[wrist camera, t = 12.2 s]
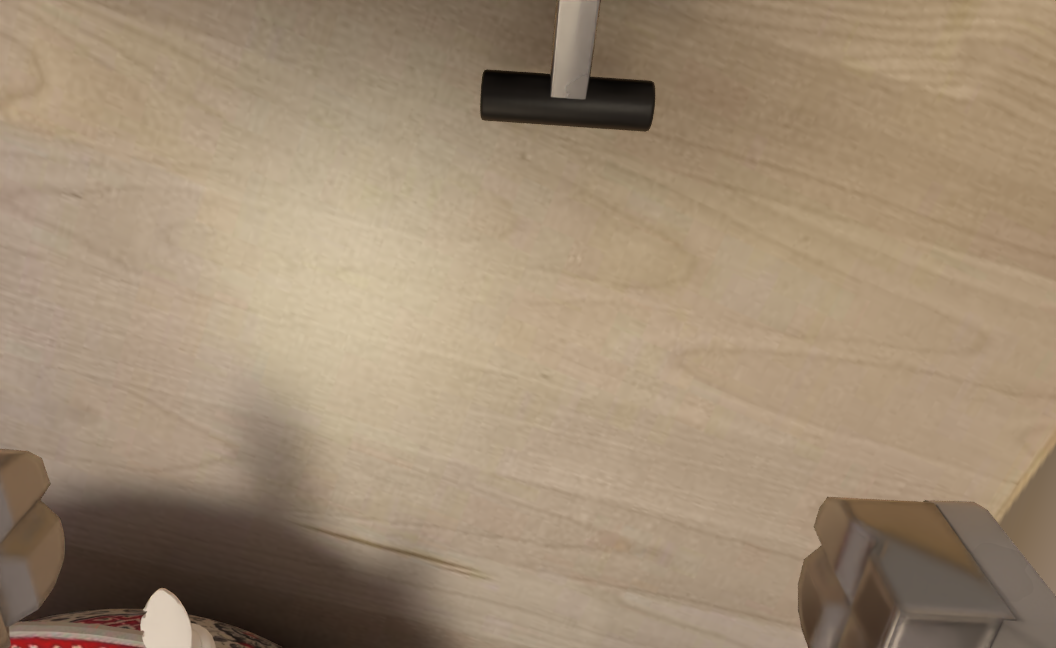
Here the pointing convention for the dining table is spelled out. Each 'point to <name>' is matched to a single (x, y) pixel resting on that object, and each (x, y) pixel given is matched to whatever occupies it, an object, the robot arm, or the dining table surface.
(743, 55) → the dining table surface
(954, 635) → the robot arm
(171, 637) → the figurine
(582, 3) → the switch lever
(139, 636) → the ceramic bowl
